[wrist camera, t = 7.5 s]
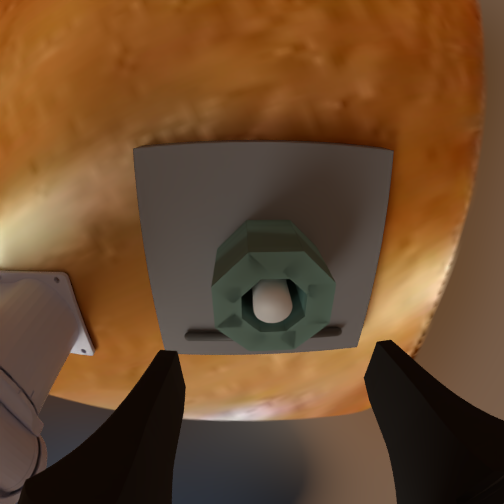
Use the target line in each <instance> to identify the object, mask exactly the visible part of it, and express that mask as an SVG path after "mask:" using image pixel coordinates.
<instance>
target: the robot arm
mask: <svg viewBox="0 0 504 504" xmlns="http://www.w3.org/2000/svg"><path fill="white" fill-rule="evenodd" d="M57 278H58V279H59V280H58V279H57ZM70 353H76V354H83V355H90V356H92V355H94V353H95V349H94V347H93V344H92V342H91V339H90V337H89V334H88V332H87V329H86V327H85V324H84V321H83V319H82V316H81V313H80V310H79V307H78V304H77V301H76V298H75V295H74V292H73V289H72V286H71V283H70V280H69V277H68V275H67V274H66V273H64V272H37V271H0V504H15V503H16V502H17V501H18V500H19V501H18V504H172V479H173V467H174V460H175V454H176V449H177V444H178V439H179V433H180V428H181V423H182V418H183V413H184V402H185V389H186V387H185V383H184V378H183V374H182V370H181V366H180V361H179V357H178V352H177V351H170V350H160V351H159V352H158V353H157V355H156V356H155V358H154V359H153V361H152V362H151V364H150V365H149V367H148V368H147V370H146V371H145V373H144V374H143V375H142V377H141V378H140V380H139V381H138V382H137V384H136V385H135V386H134V388H133V389H132V390H131V392H130V393H129V394H128V396H127V397H126V398H125V399H124V401H123V402H122V403H121V404H120V405H119V407H118V408H117V409H116V410H115V411H114V413H113V414H112V415H111V416H110V417H109V418H108V419H107V420H106V422H105V423H103V424H102V425H101V427H99V428H98V429H97V430H96V431H95V432H94V433H93V434H92V435H91V436H90V437H89V438H88V439H87V440H85V441H84V442H83V443H82V444H81V445H80V446H79V447H77V448H76V449H75V450H73V451H72V452H71V453H69V454H68V455H66V456H65V457H63V458H62V459H61V460H59V461H58V462H56V463H55V464H53V465H52V466H50V467H49V468H47V469H46V464H47V449H46V445H45V442H44V440H43V439H42V437H41V436H40V433H41V430H42V428H43V426H44V424H43V423H42V422H41V420H40V419H39V418H38V414H39V412H40V410H41V408H42V406H43V403H44V402H45V399H46V397H47V395H48V393H49V391H50V389H51V387H52V385H53V384H54V382H55V380H56V378H57V376H58V374H59V372H60V370H61V368H62V366H63V365H64V363H65V361H66V359H67V357H68V355H69V354H70ZM364 380H365V385H366V389H367V393H368V397H369V401H370V403H371V406H372V409H373V411H374V414H375V416H376V419H377V422H378V424H379V427H380V430H381V432H382V435H383V438H384V440H385V443H386V446H387V449H388V453H389V457H390V461H391V466H392V471H393V476H394V482H395V489H396V497H397V504H504V421H503V420H501V419H498V418H496V417H494V416H492V415H490V414H488V413H486V412H484V411H482V410H480V409H478V408H476V407H475V406H473V405H471V404H470V403H468V402H467V401H465V400H464V399H462V398H460V397H459V396H457V395H456V394H455V393H453V392H452V391H450V390H449V389H448V388H446V387H445V386H444V385H443V384H441V383H440V382H439V381H438V380H436V379H435V378H434V377H433V376H432V375H430V374H429V373H428V372H427V371H426V370H424V369H423V368H422V367H421V366H420V365H419V364H418V363H417V362H416V361H414V360H413V359H412V358H411V357H410V356H409V355H408V354H407V353H405V352H404V351H403V350H402V349H401V348H400V347H399V346H398V345H396V344H395V343H394V342H393V341H392V340H386V341H379V342H377V343H376V346H375V349H374V352H373V354H372V357H371V360H370V363H369V365H368V368H367V371H366V373H365V376H364Z"/></svg>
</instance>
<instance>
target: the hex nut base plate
mask: <svg viewBox="0 0 504 504" xmlns="http://www.w3.org/2000/svg"><path fill="white" fill-rule="evenodd" d="M393 152H394V151H392V150H389V149H385V148H381V147H372V146H363V145H353V144H341V143H328V142H311V141H287V140H222V141H197V142H181V143H167V144H156V145H145V146H140V147H137V148H134V149H133V155H134V168H135V179H136V189H137V198H138V207H139V215H140V222H141V230H142V237H143V243H144V250H145V256H146V262H147V268H148V273H149V279H150V284H151V289H152V294H153V299H154V304H155V309H156V313H157V318H158V322H159V327H160V331H161V335H162V340H163V344H164V348H165V350H170V351H177V352H178V354H200V355H244V354H276V353H294V352H309V351H322V350H333V349H343V348H352V347H357V345H358V342H359V338H360V335H361V331H362V328H363V324H364V320H365V316H366V312H367V308H368V304H369V300H370V296H371V292H372V288H373V283H374V279H375V274H376V269H377V264H378V259H379V254H380V249H381V243H382V238H383V232H384V226H385V220H386V213H387V206H388V199H389V191H390V182H391V173H392V163H393ZM246 220H290V221H291V222H292V223H293V224H294V225H295V226H296V227H297V228H298V229H299V230H300V231H301V232H302V233H303V234H304V235H305V236H306V237H307V238H308V239H309V240H310V241H311V242H312V243H313V244H314V245H315V246H316V247H317V249H318V251H319V252H320V254H321V256H322V258H323V260H324V262H325V263H326V265H327V267H328V269H329V271H330V273H331V275H332V276H333V278H334V280H335V282H336V288H335V295H334V301H333V306H332V312H331V318H330V323H329V324H328V325H327V326H325V327H324V328H323V329H321V330H320V331H319V332H317V333H316V334H315V335H313V336H312V337H311V338H309V339H308V340H307V341H305V342H304V343H302V344H301V345H300V346H298V347H297V348H296V349H293V350H274V351H248V350H247V349H245V348H244V347H242V346H241V345H239V344H238V343H236V342H235V341H233V340H232V339H230V338H229V337H228V336H226V335H225V334H223V333H222V332H220V331H219V330H217V329H216V328H215V323H214V313H213V302H212V290H211V285H212V279H213V272H214V266H215V260H216V253H217V248H218V247H219V246H220V245H221V244H222V243H224V242H225V241H226V240H227V239H228V238H229V237H230V236H231V235H232V234H233V233H234V232H235V231H236V230H237V229H238V228H239V227H240V226H241V225H242V224H243V223H244V222H245V221H246ZM286 280H287V279H261V280H260V281H259V282H258V283H257V284H255V285H254V286H253V287H252V296H253V310H254V314H255V315H256V317H257V318H258V319H259V320H261V321H263V322H266V323H277V322H280V321H282V320H284V319H286V318H287V317H288V316H289V315H290V313H291V311H292V301H291V297H290V293H289V290H288V286H287V282H286Z"/></svg>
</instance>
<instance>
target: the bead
mask: <svg viewBox="0 0 504 504" xmlns="http://www.w3.org/2000/svg"><path fill="white" fill-rule="evenodd" d="M261 279H287V280H286V282H287V286H288V290H289V293H290V297H291V301H292V311H291V313H290V315H289V316H288V317H287V318H286V319H284V320H282V321H280V322H277V323H266V322H263V321H261V320H259V319H258V318H257V317H256V315H255V314H254V310H253V296H252V287H253V286H254V285H255V284H257V283H258V282H259V281H260V280H261ZM335 288H336V282H335V280H334V278H333V276H332V275H331V273H330V271H329V269H328V267H327V265H326V263H325V262H324V260H323V258H322V256H321V254H320V252H319V251H318V249H317V247H316V246H315V245H314V244H313V243H312V242H311V241H310V240H309V239H308V238H307V237H306V236H305V235H304V234H303V233H302V232H301V231H300V230H299V229H298V228H297V227H296V226H295V225H294V224H293V223H292V222H291V221H290V220H246V221H245V222H244V223H243V224H242V225H241V226H240V227H239V228H238V229H237V230H236V231H235V232H234V233H233V234H232V235H231V236H230V237H229V238H228V239H227V240H226V241H225V242H224V243H222V244H221V245H220V246H219V247H218V248H217V253H216V260H215V266H214V272H213V279H212V285H211V290H212V302H213V313H214V323H215V328H216V329H217V330H219V331H220V332H222V333H223V334H225V335H226V336H228V337H229V338H230V339H232V340H233V341H235V342H236V343H238V344H239V345H241V346H242V347H244V348H245V349H247V350H248V351H274V350H293V349H296V348H297V347H298V346H300V345H301V344H302V343H304V342H305V341H307V340H308V339H309V338H311V337H312V336H313V335H315V334H316V333H317V332H319V331H320V330H321V329H323V328H324V327H325V326H327V325H328V324H329V323H330V318H331V312H332V306H333V301H334V295H335Z"/></svg>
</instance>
